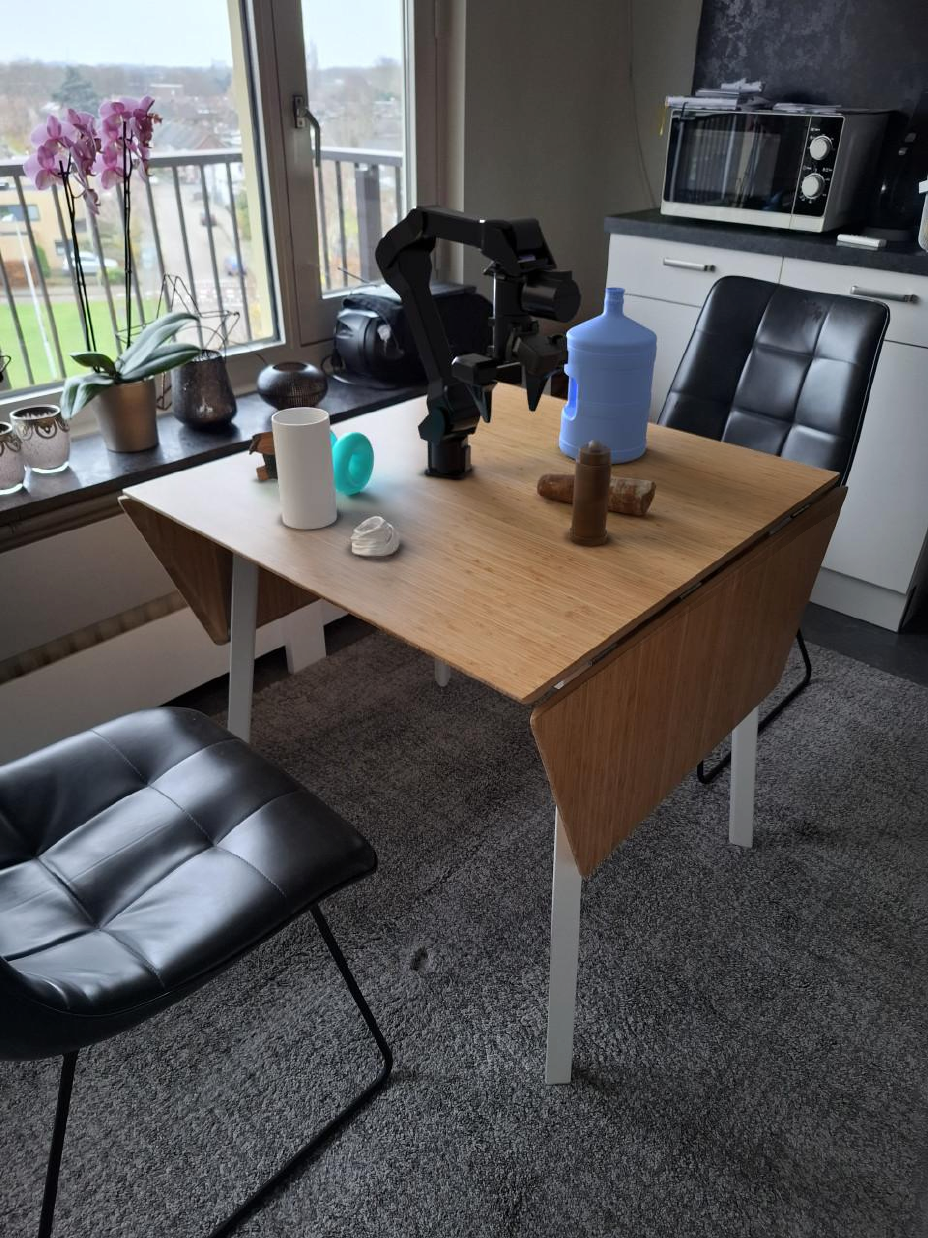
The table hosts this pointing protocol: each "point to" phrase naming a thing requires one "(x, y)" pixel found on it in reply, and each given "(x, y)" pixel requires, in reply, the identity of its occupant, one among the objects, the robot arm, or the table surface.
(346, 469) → the donuts
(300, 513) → the cup
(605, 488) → the pepper mill
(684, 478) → the table surface
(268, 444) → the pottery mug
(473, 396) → the robot arm
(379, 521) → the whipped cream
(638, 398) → the water jug
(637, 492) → the brown cylinder
